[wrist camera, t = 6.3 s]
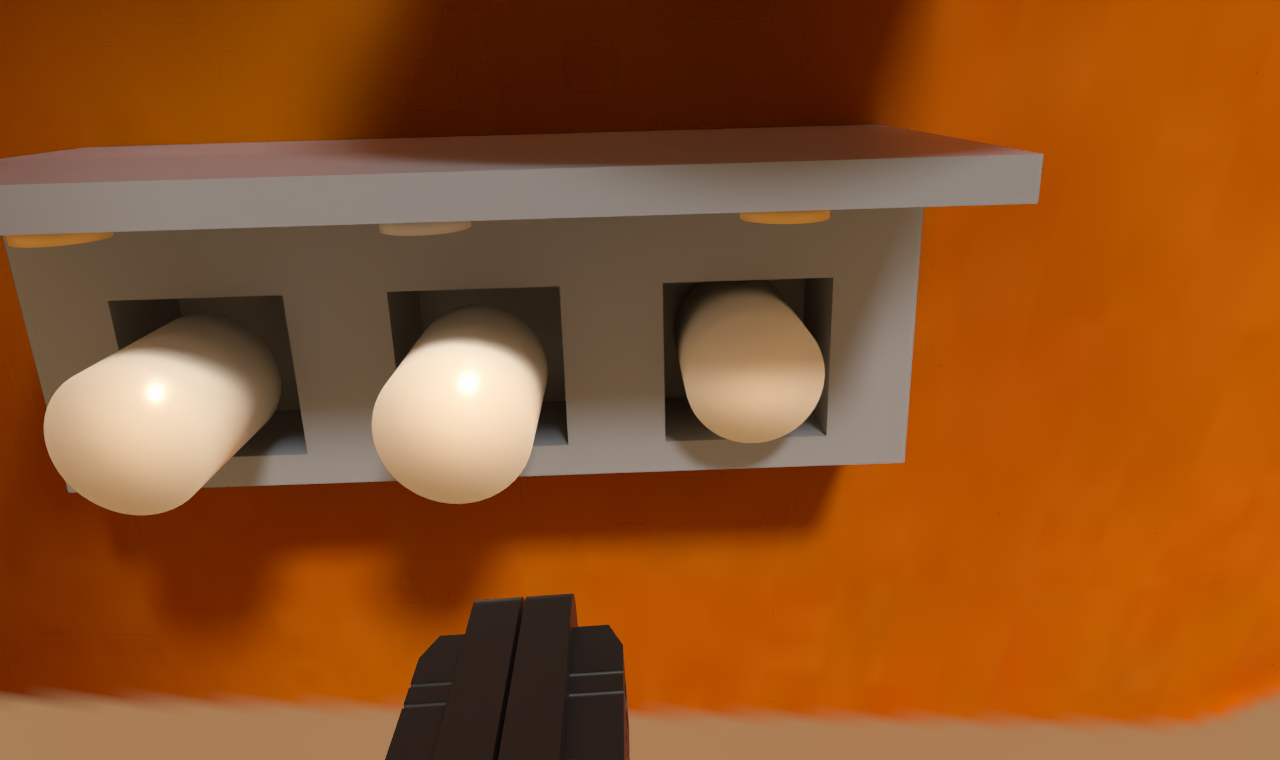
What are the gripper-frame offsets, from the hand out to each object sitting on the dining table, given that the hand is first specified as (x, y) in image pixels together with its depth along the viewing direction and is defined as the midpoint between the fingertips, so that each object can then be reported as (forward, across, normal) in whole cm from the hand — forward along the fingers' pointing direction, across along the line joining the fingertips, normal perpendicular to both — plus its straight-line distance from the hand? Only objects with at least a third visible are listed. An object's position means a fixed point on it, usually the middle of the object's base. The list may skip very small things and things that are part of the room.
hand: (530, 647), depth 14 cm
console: (+19, +3, -2) cm, 19 cm away
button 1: (+14, +11, 0) cm, 18 cm away
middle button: (+14, +3, 0) cm, 14 cm away
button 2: (+17, -5, 0) cm, 18 cm away
